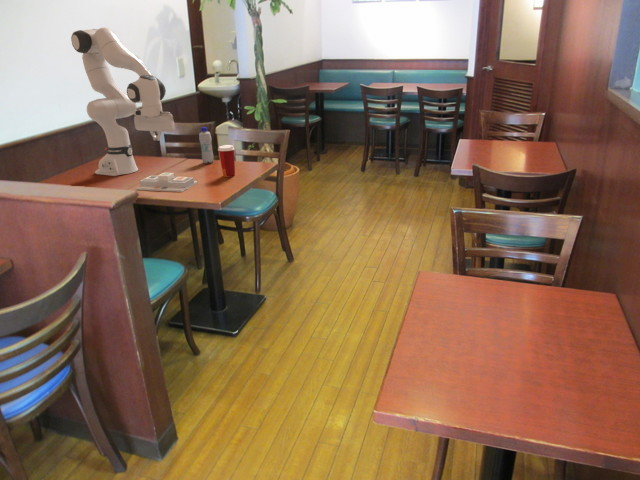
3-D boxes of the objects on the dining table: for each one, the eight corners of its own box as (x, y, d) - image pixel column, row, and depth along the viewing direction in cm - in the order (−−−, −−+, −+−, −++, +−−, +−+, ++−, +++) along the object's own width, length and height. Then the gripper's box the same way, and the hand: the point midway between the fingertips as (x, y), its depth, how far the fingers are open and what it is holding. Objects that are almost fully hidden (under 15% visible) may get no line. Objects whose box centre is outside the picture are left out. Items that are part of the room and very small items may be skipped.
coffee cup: (239, 173, 262) (236, 144, 256) (233, 178, 254) (230, 148, 248) (225, 173, 264) (221, 144, 258) (218, 177, 256) (214, 148, 251)
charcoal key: (145, 184, 245) (144, 178, 244) (152, 181, 250) (151, 175, 249) (155, 185, 244) (154, 178, 243) (161, 182, 249) (160, 175, 247)
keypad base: (137, 189, 242) (135, 182, 241) (154, 181, 255) (153, 174, 254) (182, 192, 236) (181, 184, 234) (197, 182, 249) (196, 175, 247)
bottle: (211, 164, 283) (207, 128, 275) (200, 164, 284) (195, 128, 276) (216, 161, 289) (211, 125, 281) (205, 161, 290) (200, 125, 283)
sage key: (158, 181, 242) (157, 175, 241) (164, 178, 247) (163, 172, 246) (168, 182, 241) (167, 175, 240) (175, 178, 246) (174, 172, 245)
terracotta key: (173, 185, 241) (172, 179, 240) (179, 182, 246) (178, 176, 245) (183, 186, 240) (182, 179, 239) (189, 183, 245) (188, 176, 243)
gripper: (175, 110, 241) (179, 139, 247) (138, 109, 246) (142, 137, 252) (168, 113, 235) (172, 142, 241) (130, 111, 241) (135, 140, 247)
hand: (156, 140), depth 247 cm, fingers closed
